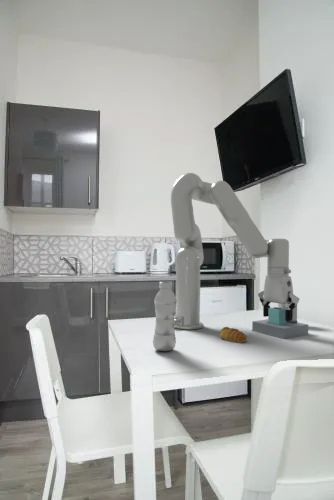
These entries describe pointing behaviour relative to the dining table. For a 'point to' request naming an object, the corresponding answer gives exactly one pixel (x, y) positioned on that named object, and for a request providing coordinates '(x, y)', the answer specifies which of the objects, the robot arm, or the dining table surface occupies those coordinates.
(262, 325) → the grey recessed tray
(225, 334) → the pastry
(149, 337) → the dining table surface
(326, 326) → the dining table surface
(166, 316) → the plastic bottle
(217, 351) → the dining table surface
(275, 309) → the block
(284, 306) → the can
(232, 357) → the dining table surface
